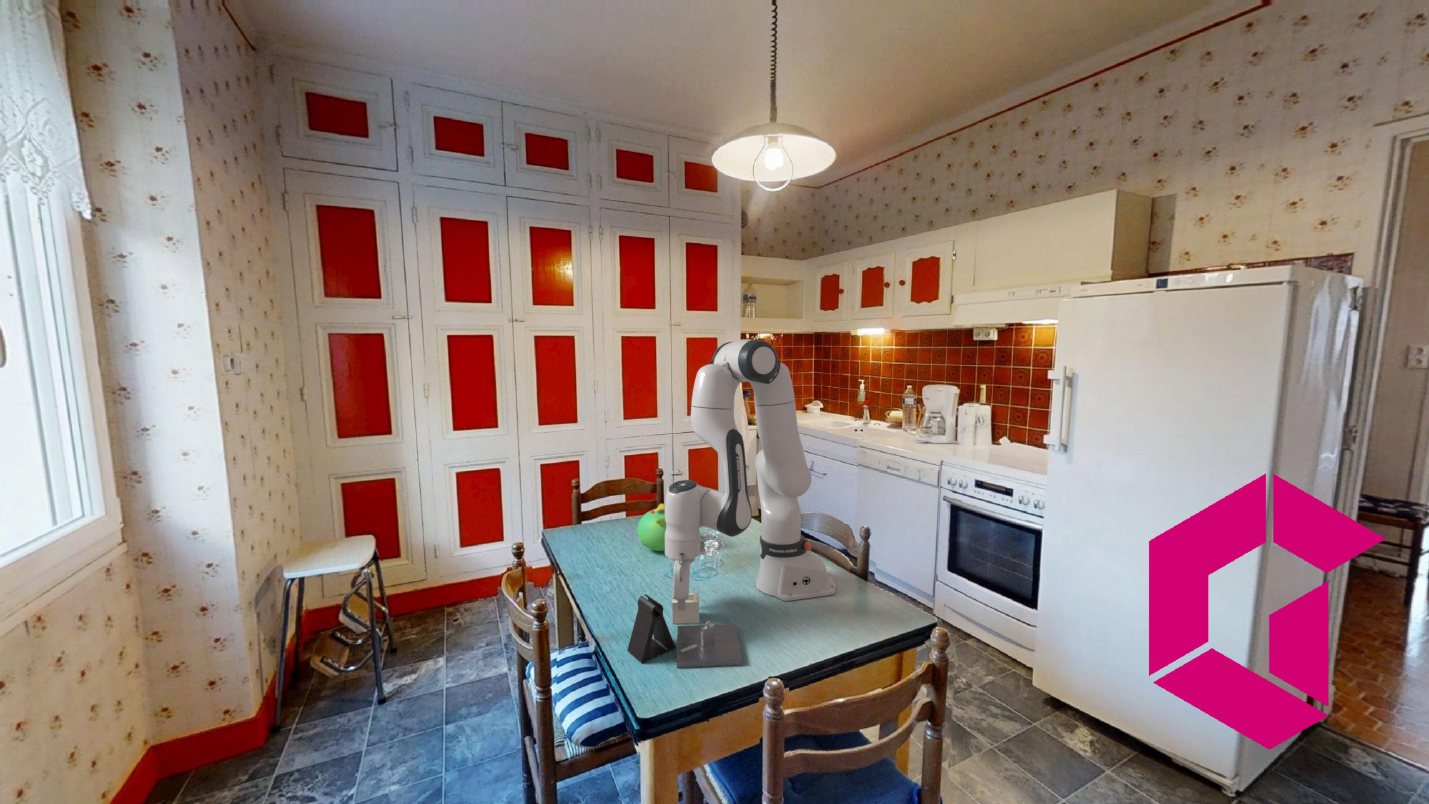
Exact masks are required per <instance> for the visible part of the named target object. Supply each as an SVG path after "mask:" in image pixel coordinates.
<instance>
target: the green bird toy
mask: <svg viewBox="0 0 1429 804" xmlns="http://www.w3.org/2000/svg"><path fill="white" fill-rule="evenodd" d="M665 531H666V521H665V503H659V505H658V506H657V508H653V509H651V510H649V511H648V512H646V513H644V515H643V516H641V518H640V520H639V522H638V525H637V536H638V539H639V541H640V542H641V544H642V545H643V546H645V548H647V549H649V550H651V551H654V552H655V551H656V552H665Z"/></svg>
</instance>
